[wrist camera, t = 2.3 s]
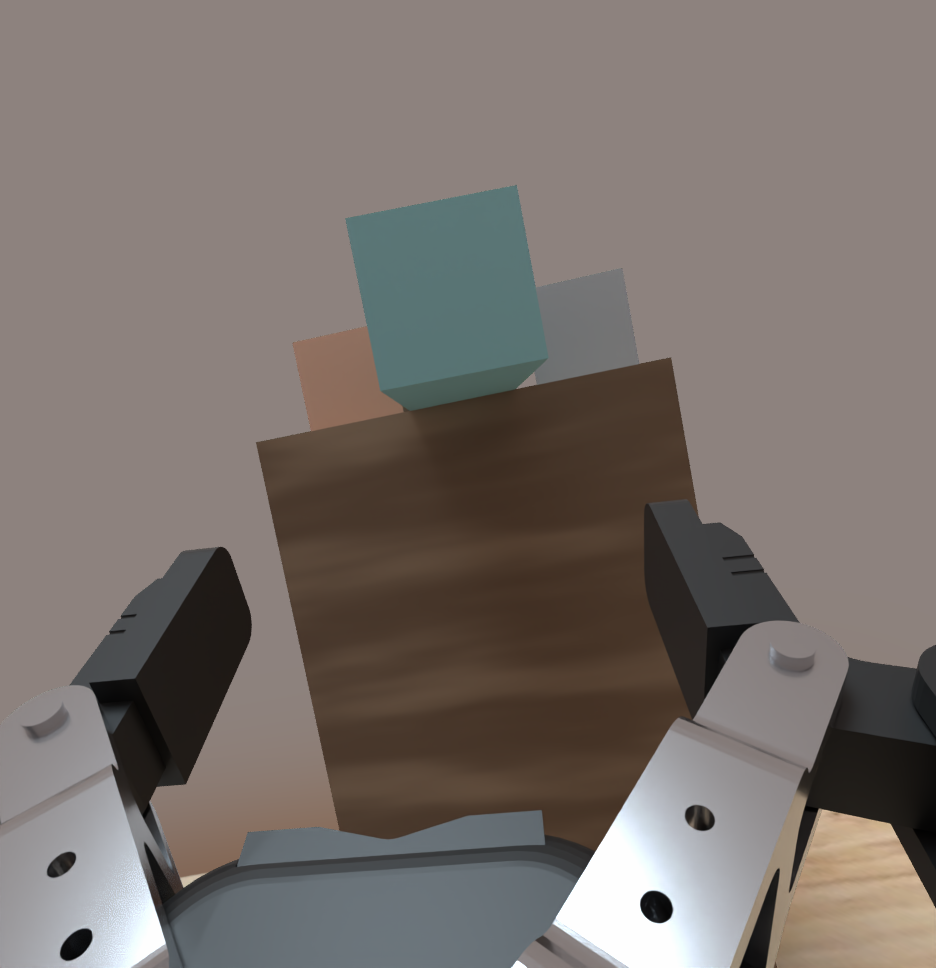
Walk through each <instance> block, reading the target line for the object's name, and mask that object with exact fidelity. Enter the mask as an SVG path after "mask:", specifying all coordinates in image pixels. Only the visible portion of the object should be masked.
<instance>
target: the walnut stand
mask: <svg viewBox="0 0 936 968" xmlns="http://www.w3.org/2000/svg"><path fill="white" fill-rule="evenodd" d="M256 444H257V449H258V453H259V458H260V463H261V468H262V472H263V476H264V481H265V486H266V491H267V495H268V500H269V505H270V509H271V514H272V519H273V523H274V528H275V532H276V537H277V542H278V547H279V551H280V556H281V560H282V565H283V570H284V574H285V579H286V584H287V588H288V593H289V598H290V602H291V607H292V612H293V616H294V620H295V625H296V630H297V635H298V639H299V644H300V649H301V653H302V658H303V662H304V667H305V672H306V677H307V681H308V686H309V691H310V695H311V699H312V704H313V709H314V713H315V718H316V723H317V727H318V732H319V737H320V742H321V746H322V751H323V755H324V760H325V764H326V770H327V774H328V778H329V783H330V788H331V792H332V797H333V802H334V807H335V811H336V816H337V820H338V825H339V830H340V831H343V832H348V833H354V834H359V835H364V836H369V837H375V838H380V839H396V838H400V837H403V836H406V835H409V834H412V833H415V832H418V831H422V830H425V829H428V828H431V827H434V826H437V825H440V824H443V823H447V822H450V821H453V820H456V819H459V818H462V817H465V816H470V815H483V814H497V813H510V812H523V811H537V810H542V817H543V825H544V834H545V835H549V836H555V837H560V838H563V839H566V840H569V841H572V842H575V843H578V844H580V845H583V846H585V847H587V848H589V849H591V850H594V851H597V849H598V847H599V846H600V844H601V842H602V841H603V839H604V837H605V836H606V834H607V832H608V831H609V829H610V827H611V826H612V824H613V822H614V821H615V819H616V817H617V816H618V814H619V812H620V811H621V809H622V807H623V805H624V804H625V802H626V800H627V799H628V797H629V795H630V794H631V792H632V790H633V789H634V787H635V785H636V784H637V782H638V780H639V779H640V777H641V775H642V774H643V772H644V770H645V769H646V767H647V765H648V764H649V762H650V760H651V759H652V757H653V755H654V754H655V752H656V750H657V748H658V747H659V745H660V743H661V742H662V740H663V738H664V737H665V735H666V733H667V732H668V730H669V728H670V727H671V725H672V724H673V723H674V721H675V720H676V719H677V718H679V717H681V716H683V717H686V718H688V719H691V720H692V718H691V715H690V712H689V710H688V707H687V704H686V702H685V699H684V696H683V694H682V691H681V688H680V686H679V683H678V680H677V678H676V675H675V672H674V670H673V667H672V664H671V662H670V659H669V656H668V653H667V651H666V648H665V645H664V643H663V640H662V637H661V635H660V632H659V629H658V627H657V624H656V621H655V619H654V616H653V613H652V611H651V608H650V605H649V602H648V598H647V593H646V587H645V577H644V508H645V505H646V503H654V502H664V501H673V500H683V499H687V500H688V501H689V502H690V504H691V505H692V507H693V509H694V511H695V512H696V514H697V516H698V510H697V505H696V499H695V493H694V487H693V482H692V476H691V470H690V464H689V459H688V453H687V447H686V441H685V436H684V430H683V424H682V418H681V412H680V407H679V401H678V395H677V389H676V384H675V378H674V372H673V366H672V360H671V358H666V359H661V360H656V361H651V362H646V363H641V364H637V365H632V366H627V367H622V368H617V369H612V370H607V371H602V372H598V373H593V374H588V375H583V376H578V377H573V378H568V379H563V380H559V381H554V382H549V383H544V384H539V385H534V386H529V387H525V388H520V389H515V390H510V391H505V392H500V393H495V394H490V395H485V396H481V397H476V398H471V399H466V400H461V401H456V402H451V403H446V404H442V405H437V406H432V407H427V408H422V409H417V410H412V411H407V412H403V413H398V414H393V415H388V416H383V417H378V418H373V419H368V420H364V421H359V422H354V423H349V424H344V425H339V426H334V427H329V428H324V429H320V430H315V431H310V432H305V433H300V434H296V435H290V436H286V437H281V438H276V439H271V440H266V441H261V442H256ZM698 517H699V516H698ZM774 968H777V966H776V961H775V964H774Z"/></svg>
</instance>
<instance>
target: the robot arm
mask: <svg viewBox="0 0 936 968" xmlns="http://www.w3.org/2000/svg"><path fill="white" fill-rule="evenodd" d="M644 577H645V587H646V593H647V598H648V602H649V605H650V608H651V611H652V613H653V616H654V619H655V621H656V624H657V627H658V629H659V632H660V635H661V637H662V640H663V643H664V645H665V648H666V651H667V653H668V656H669V659H670V662H671V664H672V667H673V670H674V672H675V675H676V678H677V680H678V683H679V686H680V688H681V691H682V694H683V696H684V699H685V702H686V704H687V707H688V710H689V712H690V715H691V718H692V720H691V719H688V718H686V717H683V716H681V717H679V718H677V719H676V720H675V721H674V723H673V724H672V725H671V727H670V728H669V730H668V732H667V733H666V735H665V737H664V738H663V740H662V742H661V743H660V745H659V747H658V748H657V750H656V752H655V754H654V755H653V757H652V759H651V760H650V762H649V764H648V765H647V767H646V769H645V770H644V772H643V774H642V775H641V777H640V779H639V780H638V782H637V784H636V785H635V787H634V789H633V790H632V792H631V794H630V795H629V797H628V799H627V800H626V802H625V804H624V805H623V807H622V809H621V811H620V812H619V814H618V816H617V817H616V819H615V821H614V822H613V824H612V826H611V827H610V829H609V831H608V832H607V834H606V836H605V837H604V839H603V841H602V842H601V844H600V846H599V847H598V849H597V851H594V850H591V849H589V848H587V847H585V846H583V845H580V844H578V843H575V842H572V841H569V840H566V839H563V838H560V837H555V836H549V835H545V834H544V825H543V817H542V810H537V811H523V812H510V813H497V814H483V815H470V816H465V817H462V818H459V819H456V820H453V821H450V822H447V823H443V824H440V825H437V826H434V827H431V828H428V829H425V830H422V831H418V832H415V833H412V834H409V835H406V836H403V837H400V838H396V839H380V838H375V837H369V836H364V835H359V834H354V833H348V832H343V831H337V830H332V829H327V828H321V827H311V828H299V829H298V828H297V829H284V830H271V831H258V832H248V834H247V837H246V840H245V843H244V846H243V849H242V852H241V855H240V858H239V859H238V860H235V861H232V862H230V863H228V864H225V865H223V866H221V867H218V868H216V869H214V870H213V871H210V872H209V873H207V874H205V875H203V876H201V877H200V878H198V879H196V880H195V881H193V882H192V883H190V884H189V885H187V886H186V887H184V888H183V885H182V882H181V880H180V877H179V874H178V872H177V869H176V866H175V863H174V860H173V858H172V855H171V852H170V849H169V847H168V844H167V841H166V838H165V835H164V833H163V830H162V827H161V824H160V822H159V819H158V816H157V813H156V811H155V809H154V807H153V805H152V803H151V801H150V799H151V797H152V795H153V793H154V791H155V789H156V787H159V786H171V785H183V784H186V783H187V781H188V778H189V776H190V774H191V771H192V769H193V767H194V765H195V763H196V760H197V758H198V756H199V754H200V751H201V749H202V747H203V745H204V742H205V740H206V738H207V736H208V733H209V731H210V729H211V727H212V724H213V722H214V720H215V718H216V715H217V713H218V711H219V709H220V706H221V704H222V702H223V700H224V697H225V695H226V693H227V691H228V689H229V686H230V684H231V682H232V679H233V677H234V675H235V673H236V671H237V668H238V666H239V664H240V662H241V659H242V657H243V655H244V653H245V650H246V648H247V646H248V644H249V641H250V637H251V628H252V627H251V626H252V624H251V614H250V610H249V607H248V605H247V601H246V599H245V596H244V593H243V590H242V587H241V584H240V581H239V579H238V576H237V573H236V570H235V567H234V564H233V561H232V559H231V556H230V554H229V552H228V551H227V550H226V549H225V548H223V547H215V548H206V549H196V550H187V551H183V552H181V553H180V554H179V556H178V557H177V558H176V560H175V561H174V563H173V564H172V565H171V567H170V568H169V570H168V571H167V572H166V574H165V575H164V577H163V578H161V579H157V580H156V581H154V582H153V583H152V584H151V585H149V586H148V587H147V588H145V589H144V590H143V591H141V592H140V593H139V594H138V595H136V596H135V597H134V599H133V600H132V601H131V603H130V604H129V605H128V607H127V608H126V609H125V611H124V612H123V613H122V615H121V619H118V620H117V622H116V623H115V624H114V626H113V627H112V629H111V630H110V631H109V632H110V635H106V636H105V638H104V639H103V641H102V642H101V643H100V645H99V646H98V647H97V649H96V650H95V652H94V653H93V654H92V655H91V657H90V658H89V660H88V661H87V662H86V664H85V665H84V666H83V668H82V669H81V670H80V672H79V673H78V675H77V676H76V677H75V679H74V680H73V681H72V683H71V684H70V685H69V686H64V687H59V688H56V689H53V690H50V691H47V692H45V693H42V694H40V695H38V696H36V697H34V698H32V699H31V700H29V701H27V702H26V703H24V704H23V705H21V706H20V707H19V708H17V709H16V710H15V711H14V712H12V713H11V714H10V715H9V716H8V717H7V718H6V719H5V720H4V721H3V722H2V724H1V725H0V968H774V964H775V961H776V957H777V954H778V950H779V946H780V942H781V938H782V933H783V929H784V925H785V922H786V918H787V915H788V911H789V908H790V905H791V902H792V899H793V896H794V893H795V890H796V887H797V884H798V881H799V878H800V875H801V872H802V869H803V866H804V863H805V860H806V857H807V854H808V851H809V848H810V845H811V842H812V839H813V836H814V833H815V830H816V827H817V824H818V821H819V818H820V815H821V812H822V809H824V810H829V811H833V812H838V813H843V814H848V815H852V816H857V817H862V818H867V819H871V820H876V821H881V822H886V823H890V824H891V825H892V827H893V829H894V831H895V833H896V835H897V836H898V838H899V840H900V842H901V844H902V846H903V848H904V850H905V851H906V853H907V855H908V857H909V859H910V861H911V863H912V865H913V866H914V868H915V870H916V872H917V874H918V876H919V878H920V880H921V881H922V883H923V885H924V887H925V889H926V891H927V893H928V894H929V896H930V898H931V900H932V902H933V904H934V906H935V908H936V645H935V646H932V647H930V648H928V649H927V650H926V651H924V652H923V654H922V655H921V656H920V659H919V662H918V667H917V669H915V668H907V667H900V666H892V665H885V664H878V663H871V662H865V661H860V660H856V659H852V658H849V657H847V655H846V653H845V651H844V649H843V648H842V647H841V646H840V644H838V642H837V641H836V640H834V639H833V638H832V637H831V636H829V635H827V634H826V633H824V632H822V631H820V630H818V629H816V628H814V627H811V626H808V625H805V624H801V623H799V621H798V620H797V618H796V617H795V615H794V614H793V612H792V611H791V609H790V608H789V606H788V605H787V603H786V602H785V600H784V599H783V597H782V596H781V594H780V593H779V591H778V590H777V588H776V587H775V585H774V584H773V582H772V581H771V579H770V578H769V576H768V575H767V573H764V569H763V567H762V566H761V564H760V563H759V561H758V560H757V558H754V554H753V552H752V551H751V549H750V548H749V546H748V545H747V543H746V542H745V540H744V539H743V537H742V536H740V535H738V534H737V533H736V532H734V531H733V530H731V529H729V528H728V527H726V526H725V525H723V524H722V523H710V524H702V522H701V521H700V519H699V517H698V516H697V514H696V512H695V511H694V509H693V507H692V505H691V504H690V502H689V501H688V500H687V499H683V500H673V501H664V502H654V503H646V505H645V508H644Z"/></svg>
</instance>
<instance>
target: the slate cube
mask: <svg viewBox="0 0 936 968" xmlns="http://www.w3.org/2000/svg"><path fill="white" fill-rule="evenodd" d="M536 292H537V298H538V303H539V308H540V314H541V319H542V325H543V330H544V335H545V341H546V346H547V351H548V357H549V358H548V359H547V360H546V361H545V362H544V363H543V364H542V365H541V366H540V367H539V368H538V369H536V370H535V376H536V382H537V385H539V384H544V383H549V382H554V381H559V380H563V379H568V378H573V377H578V376H583V375H588V374H593V373H598V372H602V371H607V370H612V369H617V368H622V367H627V366H632V365H637V364H639V360H638V354H637V349H636V343H635V337H634V332H633V326H632V321H631V315H630V309H629V304H628V298H627V292H626V286H625V282H624V275H623V270H622V268H620V269H615V270H611V271H607V272H602V273H598V274H594V275H589V276H585V277H580V278H576V279H571V280H567V281H563V282H558V283H554V284H549V285H545V286H541V287H537V288H536Z"/></svg>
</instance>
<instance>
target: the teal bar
mask: <svg viewBox="0 0 936 968" xmlns="http://www.w3.org/2000/svg"><path fill="white" fill-rule="evenodd" d="M346 224H347V229H348V234H349V238H350V244H351V249H352V253H353V258H354V263H355V268H356V273H357V278H358V283H359V288H360V293H361V298H362V303H363V308H364V313H365V318H366V323H367V328H368V333H369V338H370V343H371V347H372V352H373V357H374V362H375V367H376V372H377V377H378V382H379V387H380V391H381V392H383V393H384V394H386V395H387V396H389V397H390V398H391V399H393V400H394V401H396V402H397V403H399V404H400V405H402V406H403V407H405V408H406V409H408V410H409V411H412V410H417V409H422V408H427V407H432V406H437V405H442V404H446V403H451V402H456V401H461V400H466V399H471V398H476V397H481V396H485V395H490V394H495V393H500V392H505V391H510V390H515V389H516V388H517V387H518V386H519V385H520V384H521V383H522V382H524V381H525V380H526V379H527V378H528V377H529V376H530V375H531V374H532V373H533V372H534V371H535V370H536V369H538V368H539V367H540V366H541V365H542V364H543V363H544V362H545V361H546V360H547V359H548V358H549V357H548V351H547V346H546V341H545V335H544V330H543V325H542V319H541V314H540V308H539V303H538V298H537V292H536V287H535V282H534V276H533V271H532V265H531V260H530V255H529V249H528V244H527V238H526V233H525V227H524V223H523V217H522V211H521V206H520V201H519V195H518V190H517V185H515V186H510V187H505V188H500V189H494V190H489V191H484V192H479V193H474V194H469V195H464V196H459V197H453V198H448V199H443V200H438V201H433V202H428V203H422V204H417V205H412V206H407V207H402V208H396V209H391V210H386V211H381V212H376V213H371V214H366V215H361V216H355V217H350V218H346Z"/></svg>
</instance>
